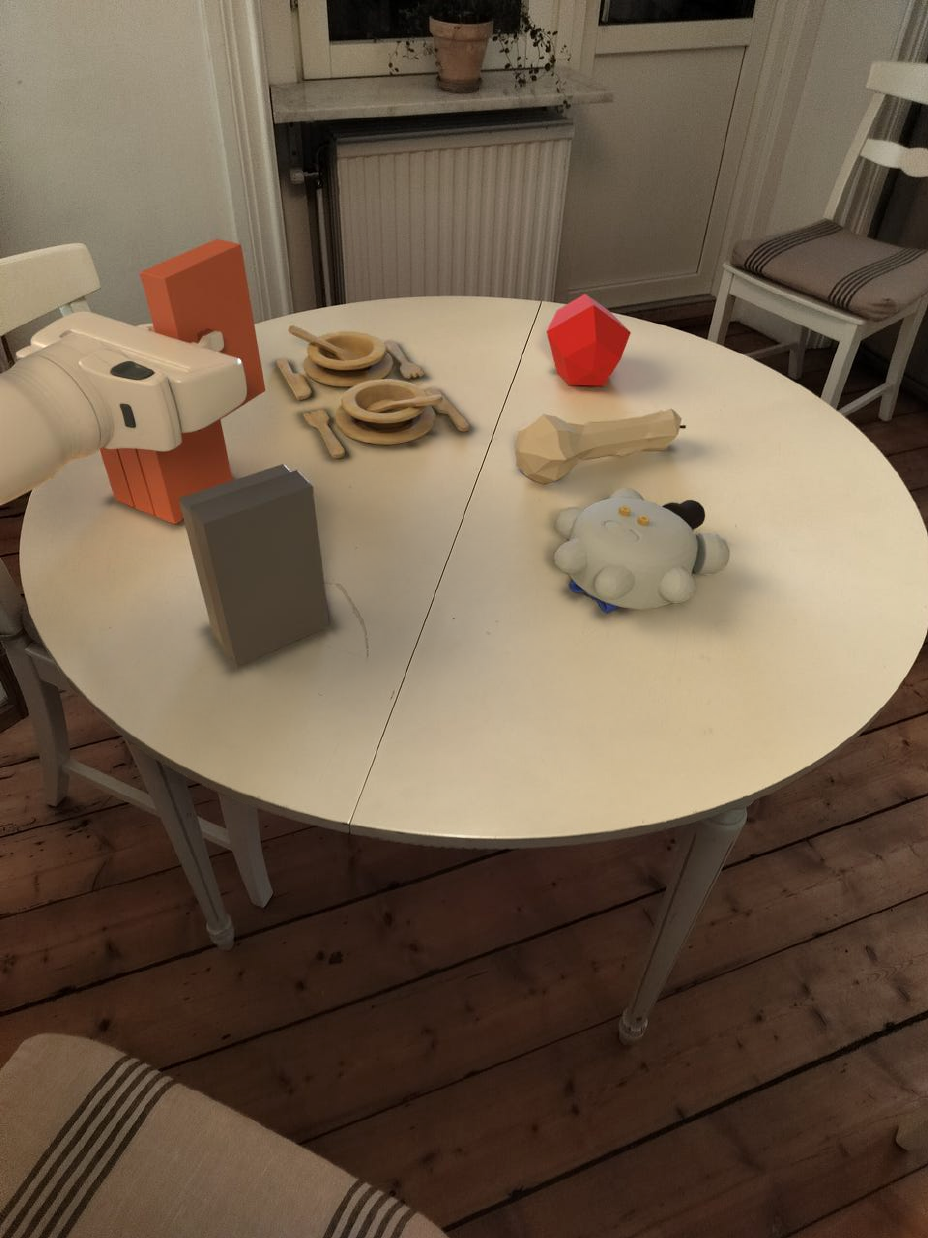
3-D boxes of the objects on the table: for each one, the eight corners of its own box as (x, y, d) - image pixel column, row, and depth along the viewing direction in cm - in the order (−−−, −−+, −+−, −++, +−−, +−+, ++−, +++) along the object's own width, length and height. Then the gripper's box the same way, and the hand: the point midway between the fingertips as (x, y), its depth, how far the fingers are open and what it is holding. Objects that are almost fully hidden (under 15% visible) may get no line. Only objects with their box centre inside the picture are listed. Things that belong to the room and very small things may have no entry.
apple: (541, 400, 121) (533, 335, 129) (623, 405, 122) (610, 340, 130) (557, 331, 111) (547, 265, 119) (645, 337, 112) (630, 271, 121)
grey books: (236, 667, 79) (203, 523, 68) (211, 630, 83) (175, 488, 71) (329, 626, 84) (313, 485, 72) (302, 593, 87) (281, 453, 75)
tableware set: (472, 432, 111) (473, 391, 107) (331, 462, 105) (327, 421, 101) (392, 340, 131) (391, 303, 127) (270, 361, 125) (264, 323, 121)
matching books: (175, 524, 95) (144, 406, 85) (115, 500, 98) (78, 383, 88) (233, 482, 101) (210, 367, 91) (175, 460, 105) (147, 347, 94)
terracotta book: (200, 432, 82) (164, 278, 72) (177, 424, 83) (139, 271, 73) (265, 390, 88) (241, 243, 78) (243, 384, 89) (216, 238, 79)
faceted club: (495, 456, 106) (657, 425, 114) (524, 506, 102) (688, 470, 111) (511, 403, 98) (682, 375, 107) (542, 455, 94) (717, 422, 103)
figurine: (639, 655, 81) (746, 583, 93) (661, 585, 76) (771, 518, 87) (512, 570, 90) (624, 514, 102) (523, 502, 85) (640, 451, 96)
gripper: (14, 394, 76) (127, 337, 85) (185, 457, 69) (288, 389, 78) (-11, 327, 72) (111, 275, 81) (168, 388, 65) (280, 324, 74)
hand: (199, 331), depth 79 cm, fingers closed on terracotta book, 3 cm apart
